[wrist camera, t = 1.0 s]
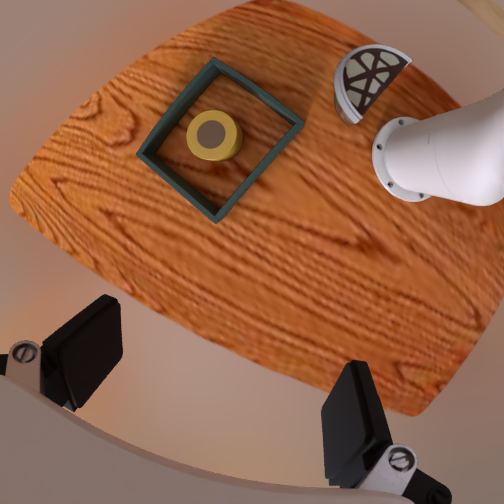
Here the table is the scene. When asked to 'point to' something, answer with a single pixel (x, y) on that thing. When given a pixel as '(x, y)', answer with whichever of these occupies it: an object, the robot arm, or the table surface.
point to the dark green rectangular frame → (176, 114)
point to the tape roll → (214, 136)
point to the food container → (365, 78)
